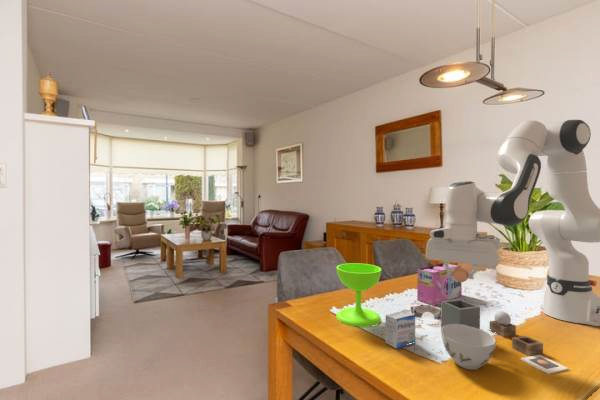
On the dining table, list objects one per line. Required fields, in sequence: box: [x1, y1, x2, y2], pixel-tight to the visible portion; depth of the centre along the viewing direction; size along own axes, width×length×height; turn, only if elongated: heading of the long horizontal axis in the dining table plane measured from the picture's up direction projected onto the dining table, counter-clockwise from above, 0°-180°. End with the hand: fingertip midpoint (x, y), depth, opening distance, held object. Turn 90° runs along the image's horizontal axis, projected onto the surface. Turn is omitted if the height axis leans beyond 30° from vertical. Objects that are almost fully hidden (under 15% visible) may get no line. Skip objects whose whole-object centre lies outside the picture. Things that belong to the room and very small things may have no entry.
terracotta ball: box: [453, 267, 469, 283], centre depth 96 cm, size 4×4×4 cm
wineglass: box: [335, 262, 382, 328], centre depth 110 cm, size 16×16×18 cm
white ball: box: [494, 310, 512, 326], centre depth 98 cm, size 4×4×4 cm
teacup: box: [440, 324, 497, 371], centre depth 80 cm, size 15×12×8 cm
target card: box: [520, 354, 569, 375], centre depth 80 cm, size 7×7×1 cm
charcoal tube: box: [440, 298, 481, 331], centre depth 96 cm, size 8×8×10 cm
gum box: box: [416, 262, 463, 306], centre depth 133 cm, size 24×8×14 cm, turn 126°
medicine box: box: [385, 310, 416, 350], centre depth 91 cm, size 8×4×9 cm, turn 118°
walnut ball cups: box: [489, 320, 544, 357], centre depth 92 cm, size 9×16×3 cm, turn 17°
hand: (460, 277), depth 96 cm, fingers closed on terracotta ball, 4 cm apart
